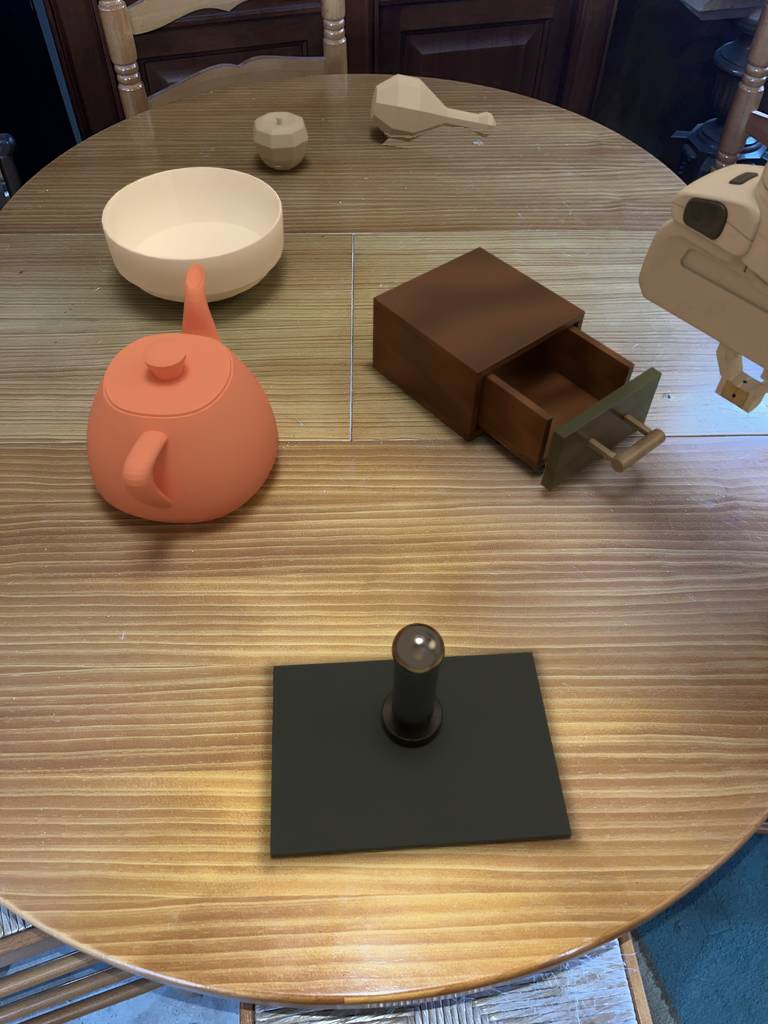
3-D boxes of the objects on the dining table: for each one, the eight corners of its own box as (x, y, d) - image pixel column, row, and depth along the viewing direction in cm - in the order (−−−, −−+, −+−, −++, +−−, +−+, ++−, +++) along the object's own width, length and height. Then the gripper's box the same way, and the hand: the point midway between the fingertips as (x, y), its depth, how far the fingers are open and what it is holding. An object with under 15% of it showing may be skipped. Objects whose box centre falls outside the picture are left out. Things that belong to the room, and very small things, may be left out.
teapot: (139, 368, 85) (108, 253, 75) (298, 377, 85) (289, 263, 75) (61, 557, 69) (9, 445, 59) (258, 570, 69) (240, 459, 58)
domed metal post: (454, 723, 59) (469, 639, 51) (408, 760, 57) (416, 680, 49) (413, 681, 61) (422, 594, 53) (368, 716, 60) (369, 631, 51)
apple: (317, 155, 116) (315, 108, 111) (301, 181, 111) (298, 133, 106) (264, 148, 117) (259, 101, 112) (246, 174, 112) (240, 126, 107)
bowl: (140, 345, 88) (123, 277, 81) (103, 251, 99) (85, 185, 93) (311, 303, 93) (308, 236, 87) (257, 219, 105) (250, 154, 98)
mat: (531, 655, 64) (532, 651, 63) (570, 837, 55) (572, 834, 54) (274, 669, 63) (273, 665, 62) (270, 858, 54) (270, 855, 53)
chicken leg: (494, 157, 118) (507, 94, 115) (373, 135, 115) (383, 68, 111) (479, 155, 126) (491, 95, 122) (365, 133, 122) (374, 71, 118)
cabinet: (568, 380, 85) (585, 311, 79) (468, 442, 79) (477, 373, 72) (471, 314, 92) (479, 246, 86) (372, 366, 86) (373, 297, 80)
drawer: (678, 451, 77) (700, 397, 72) (585, 519, 72) (602, 466, 67) (540, 358, 86) (552, 304, 81) (448, 412, 80) (454, 358, 75)
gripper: (1006, 293, 47) (886, 459, 58) (711, 156, 57) (654, 319, 68) (956, 335, 44) (840, 501, 55) (655, 183, 54) (605, 349, 65)
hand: (736, 399), depth 61 cm, fingers closed
